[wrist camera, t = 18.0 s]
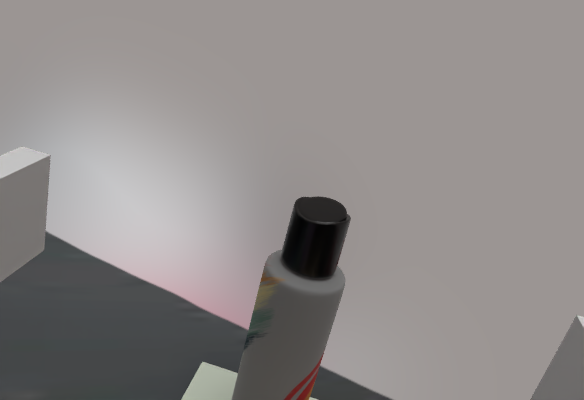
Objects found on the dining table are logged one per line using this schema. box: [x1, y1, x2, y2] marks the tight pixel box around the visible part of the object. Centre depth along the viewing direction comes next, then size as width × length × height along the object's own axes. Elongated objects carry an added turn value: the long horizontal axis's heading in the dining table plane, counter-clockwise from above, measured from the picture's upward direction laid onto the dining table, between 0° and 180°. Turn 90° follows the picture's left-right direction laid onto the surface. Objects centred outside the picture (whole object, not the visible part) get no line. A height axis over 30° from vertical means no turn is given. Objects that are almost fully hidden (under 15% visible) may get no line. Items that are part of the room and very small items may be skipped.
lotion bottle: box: [232, 197, 351, 400], centre depth 39 cm, size 6×6×20 cm
